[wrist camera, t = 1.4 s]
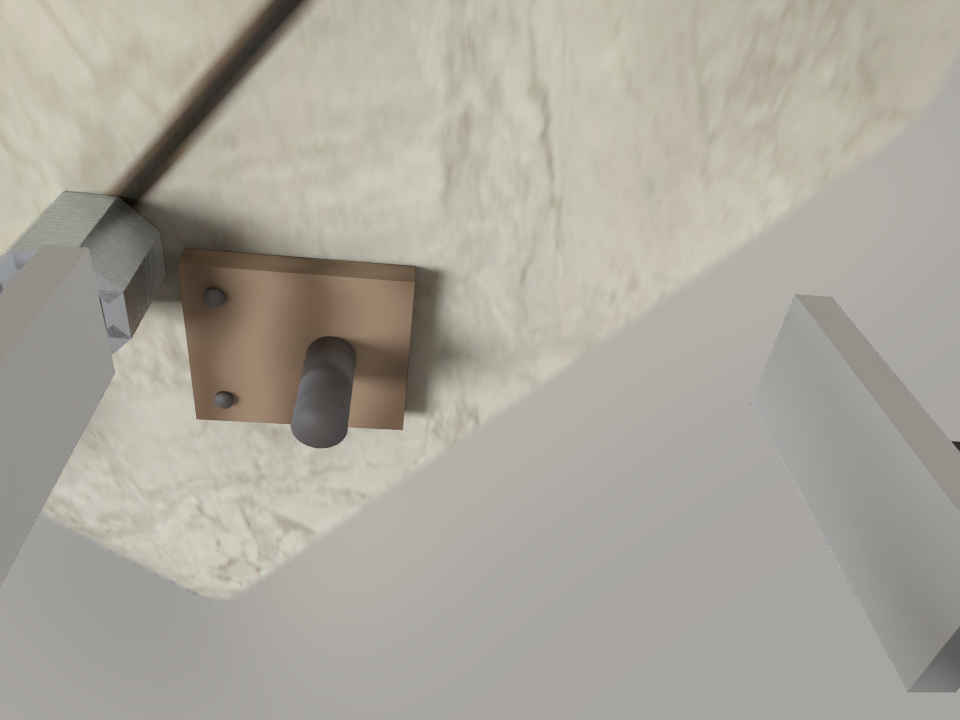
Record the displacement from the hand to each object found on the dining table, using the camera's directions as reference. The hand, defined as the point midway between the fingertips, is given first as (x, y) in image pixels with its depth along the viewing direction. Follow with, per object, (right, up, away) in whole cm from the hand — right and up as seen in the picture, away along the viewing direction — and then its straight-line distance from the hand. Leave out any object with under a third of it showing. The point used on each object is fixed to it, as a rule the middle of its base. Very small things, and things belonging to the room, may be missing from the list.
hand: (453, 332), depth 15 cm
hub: (-22, +6, +32) cm, 39 cm away
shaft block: (-11, +1, +36) cm, 38 cm away
